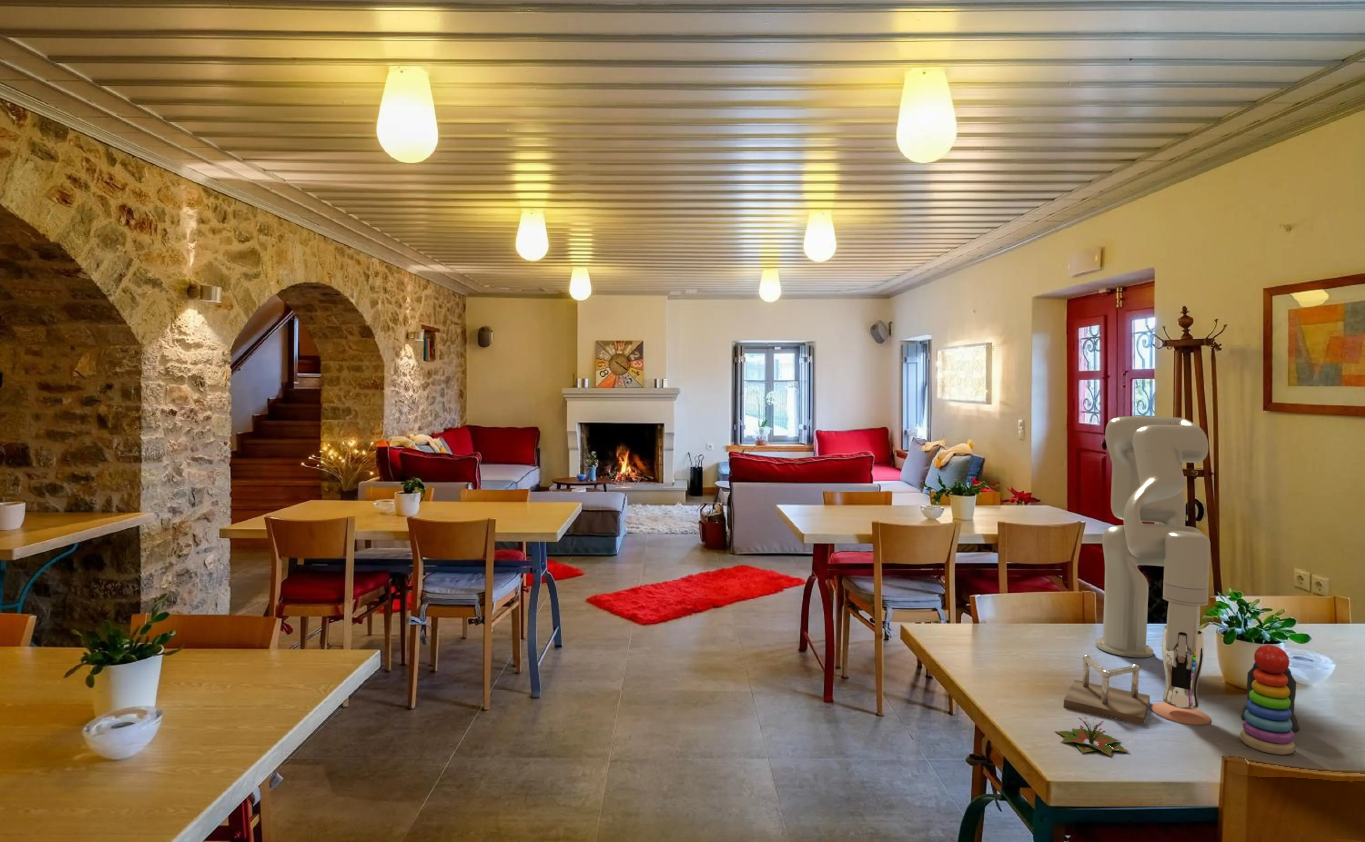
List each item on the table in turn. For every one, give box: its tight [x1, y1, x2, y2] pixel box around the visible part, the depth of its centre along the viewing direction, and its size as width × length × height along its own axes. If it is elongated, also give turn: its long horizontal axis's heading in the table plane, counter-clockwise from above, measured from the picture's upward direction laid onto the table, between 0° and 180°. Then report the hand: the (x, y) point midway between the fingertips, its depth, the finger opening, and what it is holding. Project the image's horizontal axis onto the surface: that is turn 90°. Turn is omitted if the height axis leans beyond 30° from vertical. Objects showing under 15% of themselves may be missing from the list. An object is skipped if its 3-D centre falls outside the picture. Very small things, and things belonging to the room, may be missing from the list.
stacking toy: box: [1239, 644, 1296, 756], centre depth 137 cm, size 8×8×19 cm
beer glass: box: [1161, 625, 1205, 710], centre depth 151 cm, size 7×7×15 cm
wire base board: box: [1063, 679, 1151, 726], centre depth 155 cm, size 14×14×2 cm
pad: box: [1150, 702, 1211, 726], centre depth 151 cm, size 10×10×1 cm
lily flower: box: [1054, 716, 1131, 757], centre depth 137 cm, size 12×12×5 cm
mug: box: [1240, 661, 1300, 734], centre depth 149 cm, size 12×9×11 cm
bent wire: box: [1082, 654, 1141, 705], centre depth 155 cm, size 10×11×7 cm
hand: (1181, 681), depth 151 cm, fingers closed on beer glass, 6 cm apart
